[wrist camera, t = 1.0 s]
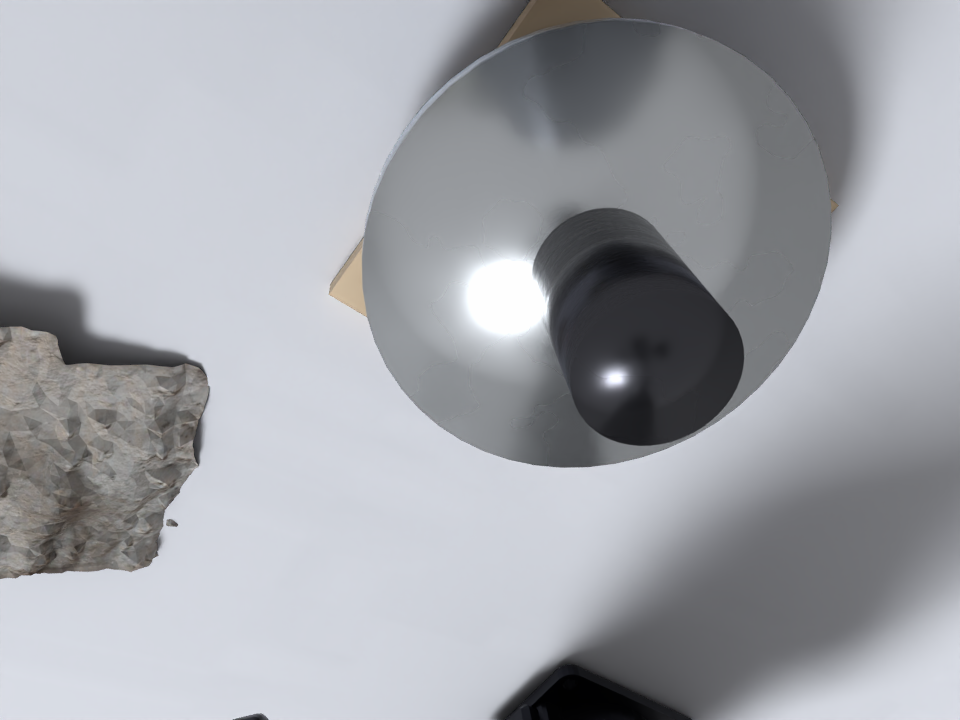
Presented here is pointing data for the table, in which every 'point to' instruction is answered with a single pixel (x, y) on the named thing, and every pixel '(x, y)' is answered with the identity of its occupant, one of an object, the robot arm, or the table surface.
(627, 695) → the robot arm
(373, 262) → the lid
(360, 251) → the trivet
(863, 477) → the table surface
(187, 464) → the stone fragment
